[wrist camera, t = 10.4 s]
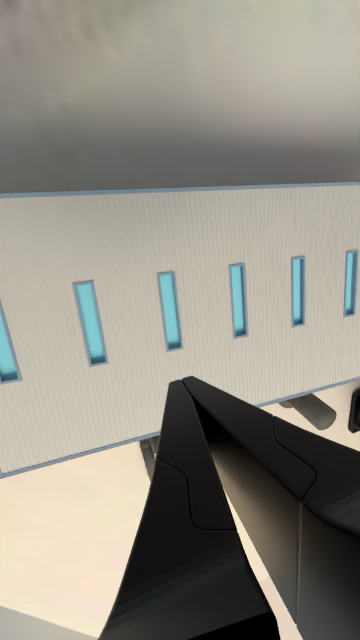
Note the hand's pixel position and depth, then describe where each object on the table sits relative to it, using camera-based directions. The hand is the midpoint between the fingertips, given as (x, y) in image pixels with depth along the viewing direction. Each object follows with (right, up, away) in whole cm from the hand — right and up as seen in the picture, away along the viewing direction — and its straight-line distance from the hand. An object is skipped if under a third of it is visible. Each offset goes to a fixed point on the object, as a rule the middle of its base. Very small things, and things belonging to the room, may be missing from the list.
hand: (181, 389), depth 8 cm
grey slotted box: (+2, +5, +13) cm, 14 cm away
